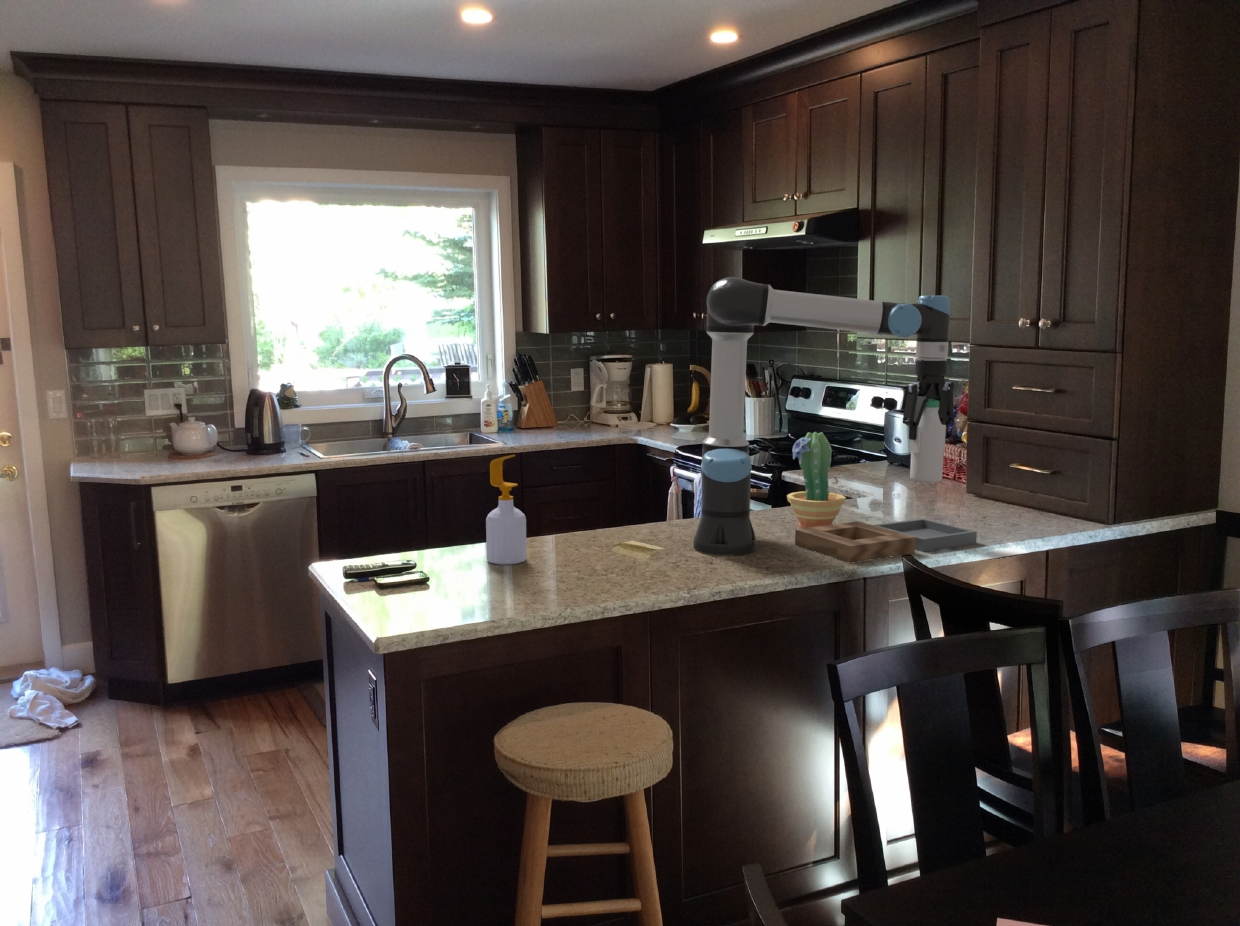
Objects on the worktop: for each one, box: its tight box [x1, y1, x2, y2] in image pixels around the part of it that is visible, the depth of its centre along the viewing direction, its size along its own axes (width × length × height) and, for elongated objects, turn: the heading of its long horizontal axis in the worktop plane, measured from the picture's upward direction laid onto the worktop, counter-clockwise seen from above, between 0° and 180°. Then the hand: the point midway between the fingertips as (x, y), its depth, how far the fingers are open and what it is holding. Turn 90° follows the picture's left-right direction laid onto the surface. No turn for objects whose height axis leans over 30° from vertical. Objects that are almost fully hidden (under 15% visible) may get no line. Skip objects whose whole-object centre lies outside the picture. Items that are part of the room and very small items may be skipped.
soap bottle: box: [485, 454, 527, 566], centre depth 240 cm, size 9×9×25 cm
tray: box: [872, 518, 978, 552], centre depth 264 cm, size 18×18×3 cm
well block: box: [794, 521, 916, 564], centre depth 254 cm, size 20×20×4 cm
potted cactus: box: [786, 431, 847, 528], centre depth 279 cm, size 15×15×25 cm
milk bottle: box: [909, 398, 945, 483], centre depth 260 cm, size 8×8×20 cm
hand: (927, 451), depth 261 cm, fingers closed on milk bottle, 8 cm apart
